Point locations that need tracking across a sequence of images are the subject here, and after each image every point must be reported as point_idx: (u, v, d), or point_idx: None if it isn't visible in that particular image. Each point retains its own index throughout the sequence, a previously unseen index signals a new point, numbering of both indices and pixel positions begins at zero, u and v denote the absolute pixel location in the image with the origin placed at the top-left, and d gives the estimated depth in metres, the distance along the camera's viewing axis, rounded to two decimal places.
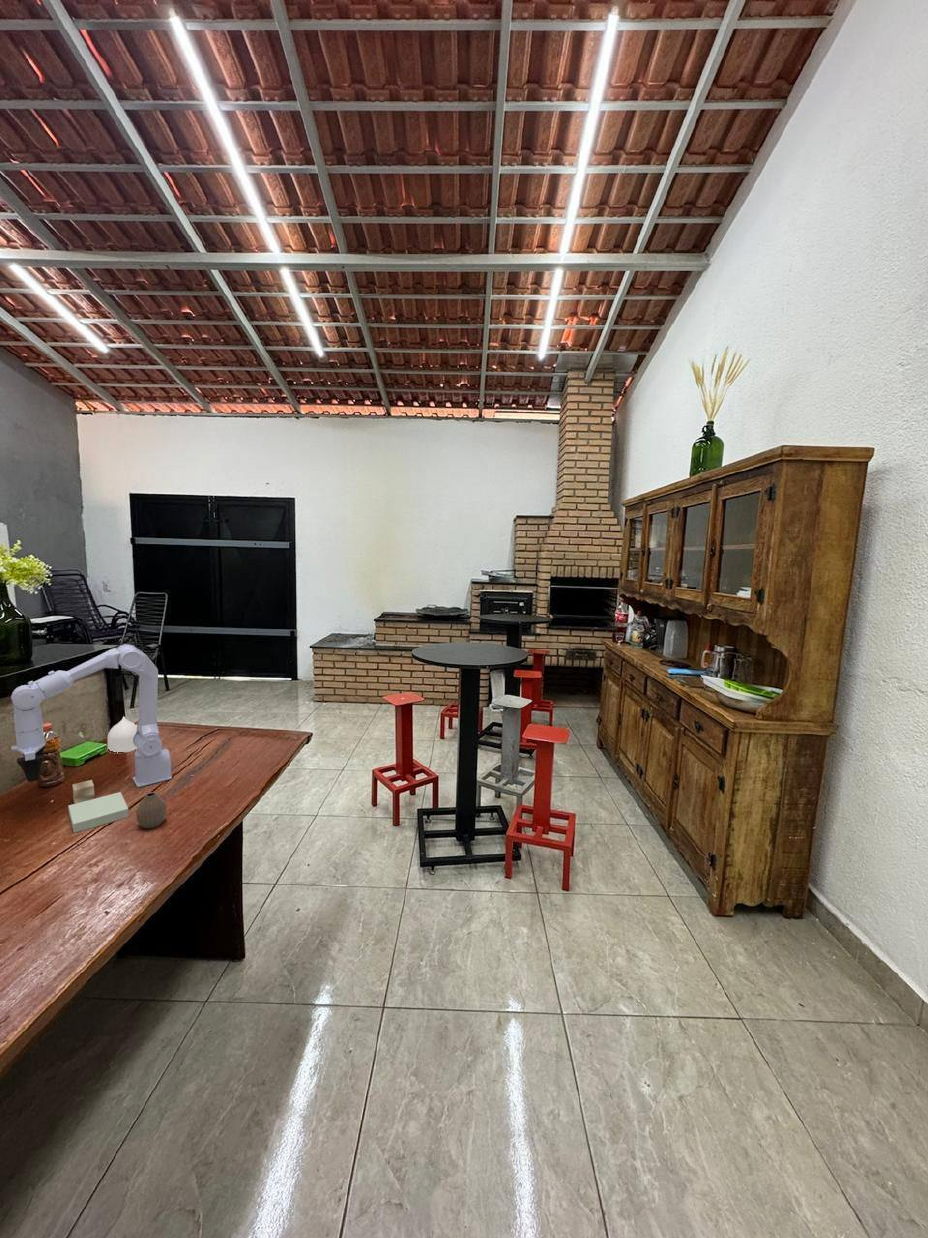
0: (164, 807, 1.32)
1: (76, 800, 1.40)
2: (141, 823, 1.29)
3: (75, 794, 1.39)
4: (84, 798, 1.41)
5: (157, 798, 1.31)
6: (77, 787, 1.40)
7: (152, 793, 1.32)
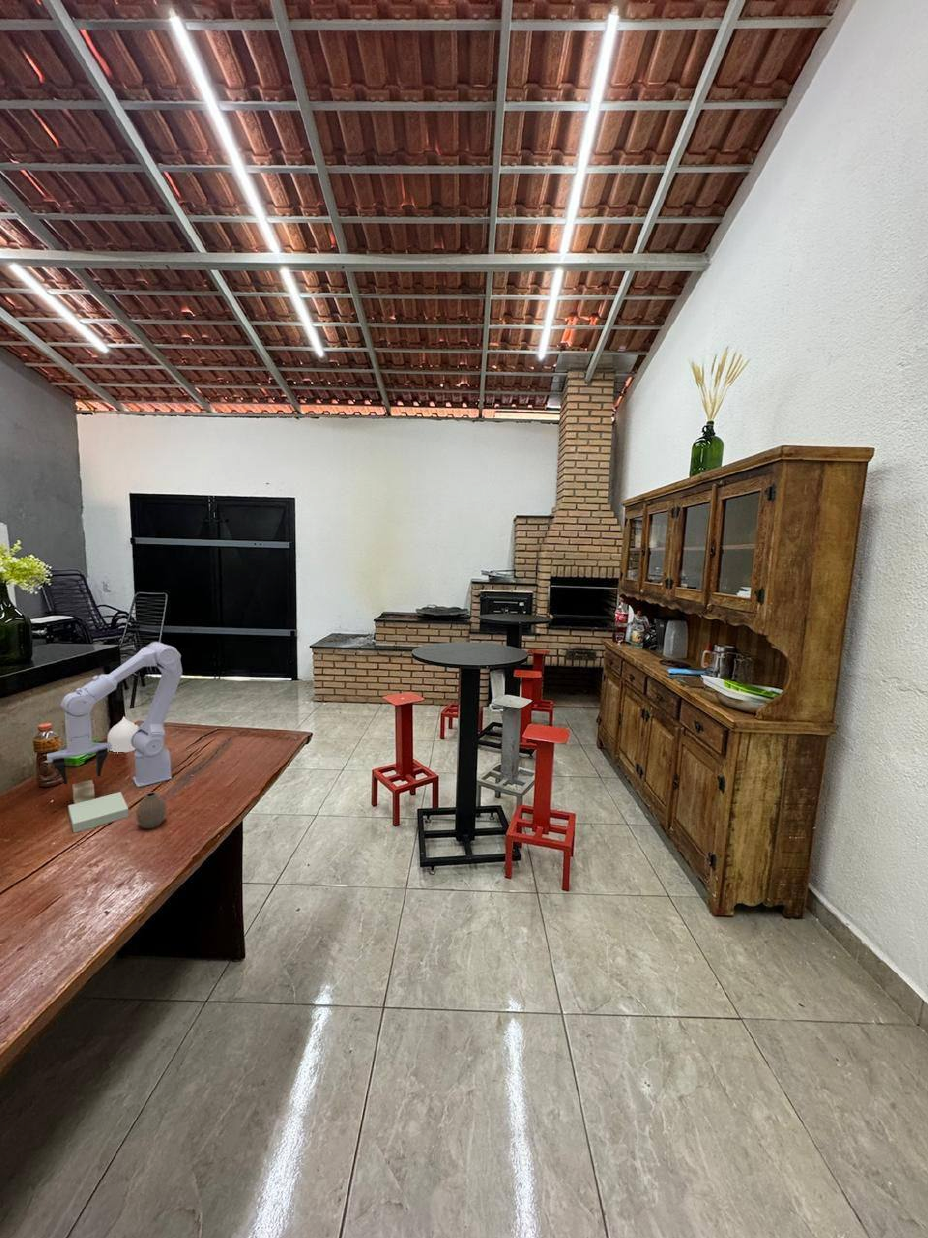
0: (164, 807, 1.32)
1: (76, 800, 1.40)
2: (141, 823, 1.29)
3: (75, 794, 1.39)
4: (84, 798, 1.41)
5: (157, 798, 1.31)
6: (77, 787, 1.40)
7: (152, 793, 1.32)
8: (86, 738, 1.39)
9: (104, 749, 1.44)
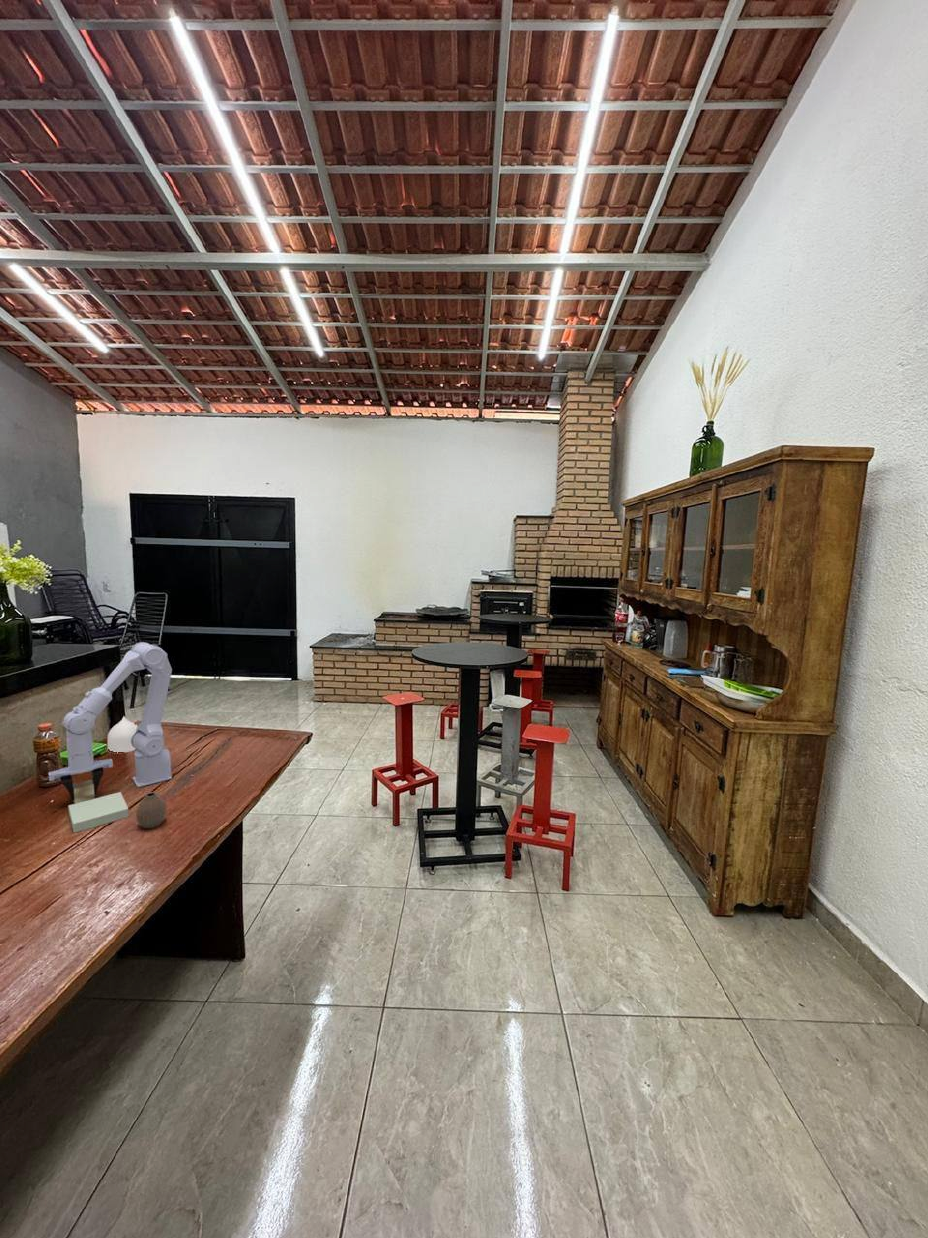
0: (164, 807, 1.32)
1: (76, 800, 1.40)
2: (141, 823, 1.29)
3: (75, 794, 1.39)
4: (84, 798, 1.41)
5: (157, 798, 1.31)
6: (77, 787, 1.40)
7: (152, 793, 1.32)
8: (87, 756, 1.40)
9: (105, 766, 1.45)
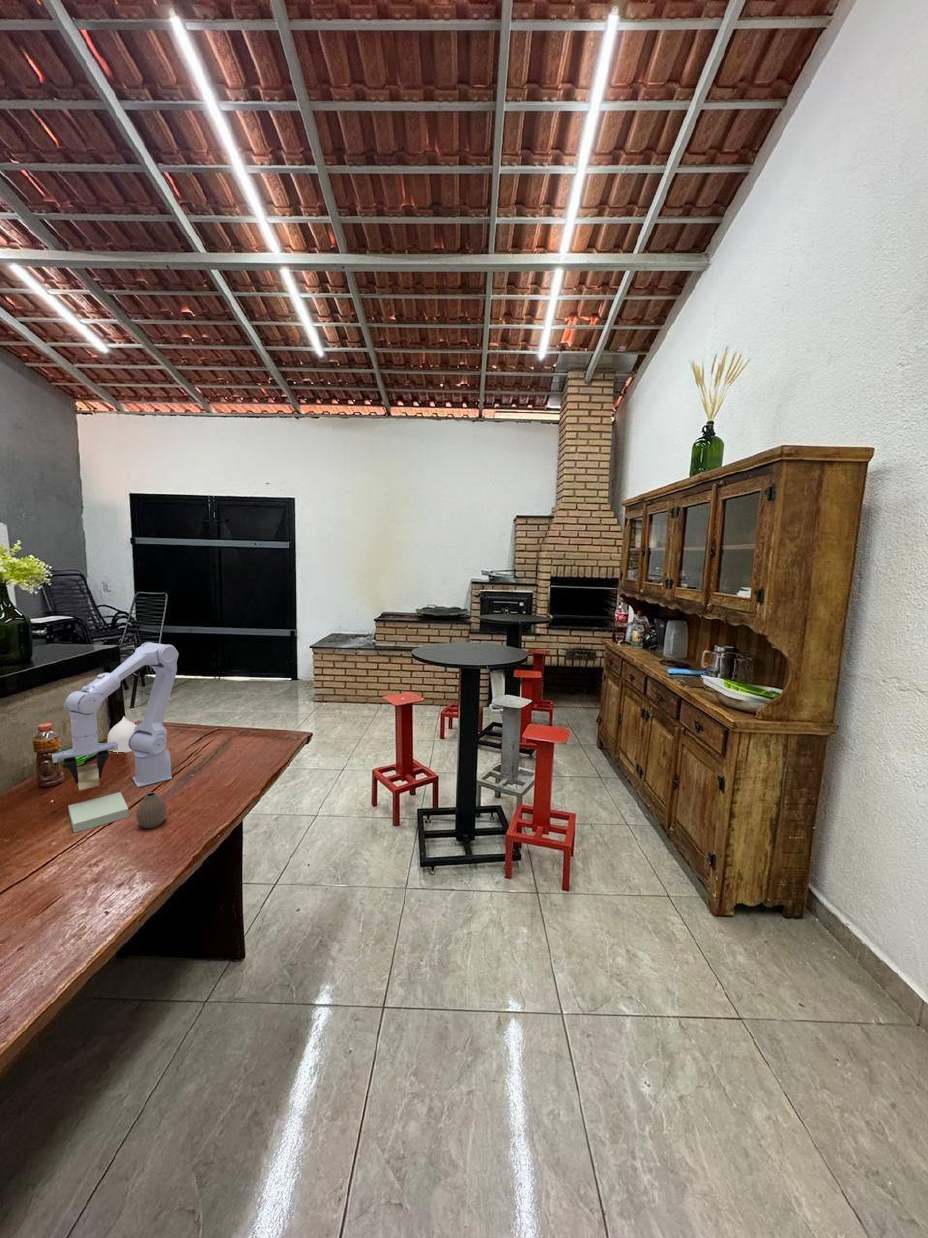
0: (164, 807, 1.32)
1: (80, 784, 1.35)
2: (141, 823, 1.29)
3: (79, 777, 1.35)
4: (88, 782, 1.37)
5: (157, 798, 1.31)
6: (81, 770, 1.36)
7: (152, 793, 1.32)
8: (92, 738, 1.35)
9: (110, 749, 1.40)
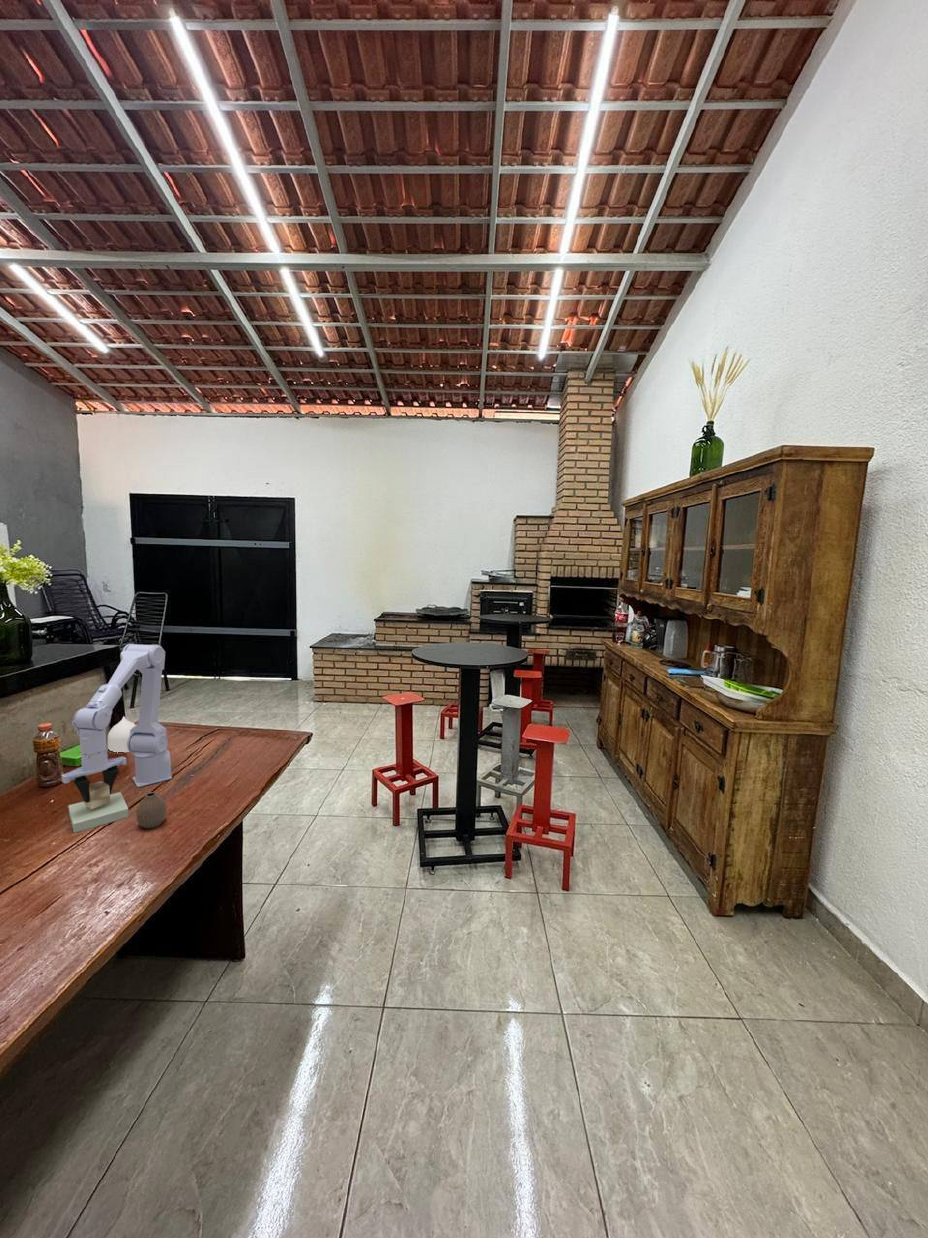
0: (164, 807, 1.32)
1: (92, 802, 1.32)
2: (141, 823, 1.29)
3: (91, 796, 1.32)
4: (100, 799, 1.34)
5: (157, 798, 1.31)
6: (91, 789, 1.33)
7: (152, 793, 1.32)
8: (104, 754, 1.33)
9: (119, 764, 1.38)
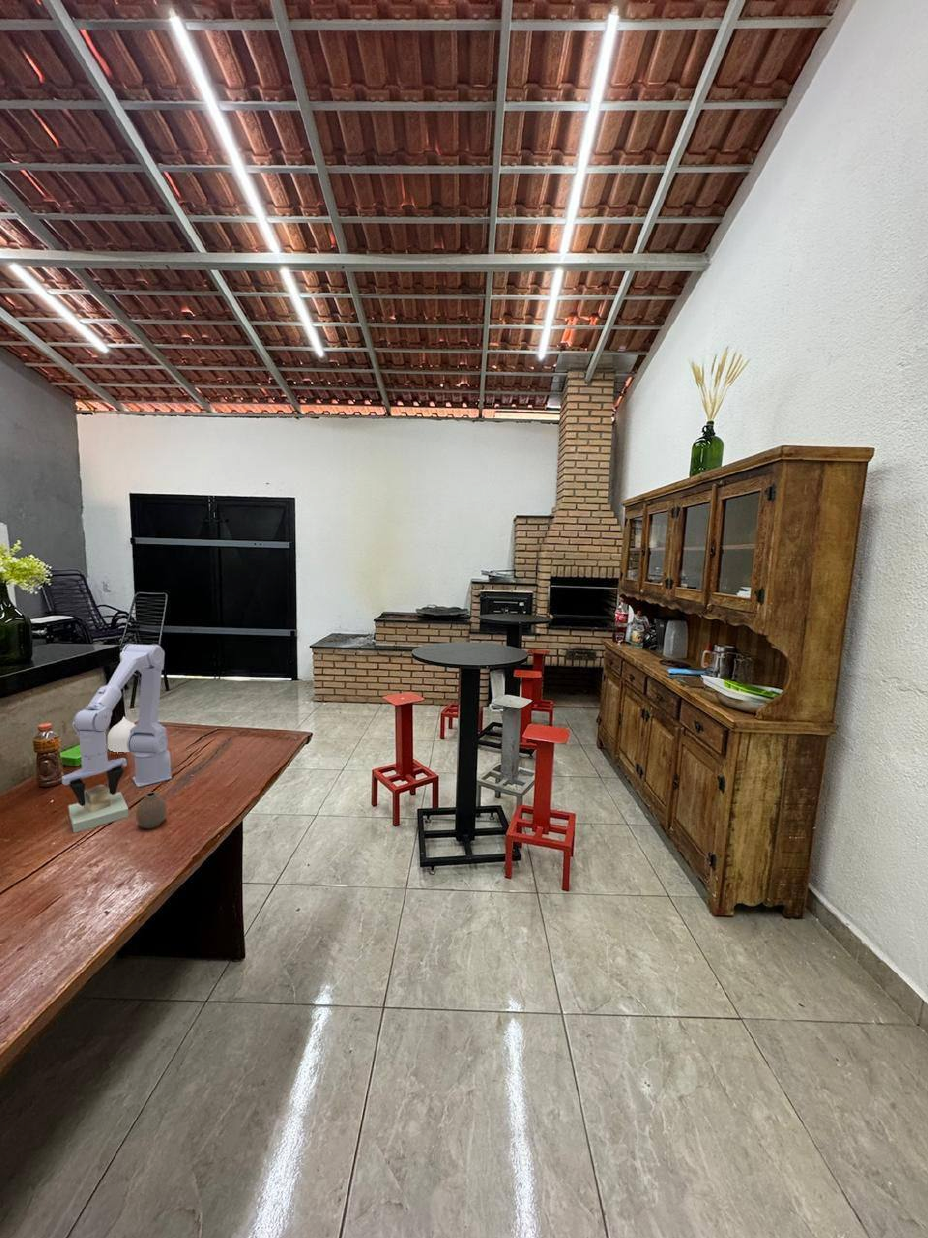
0: (164, 807, 1.32)
1: (92, 806, 1.32)
2: (141, 823, 1.29)
3: (91, 799, 1.32)
4: (100, 803, 1.34)
5: (157, 798, 1.31)
6: (91, 792, 1.33)
7: (152, 793, 1.32)
8: (104, 755, 1.33)
9: (119, 765, 1.38)
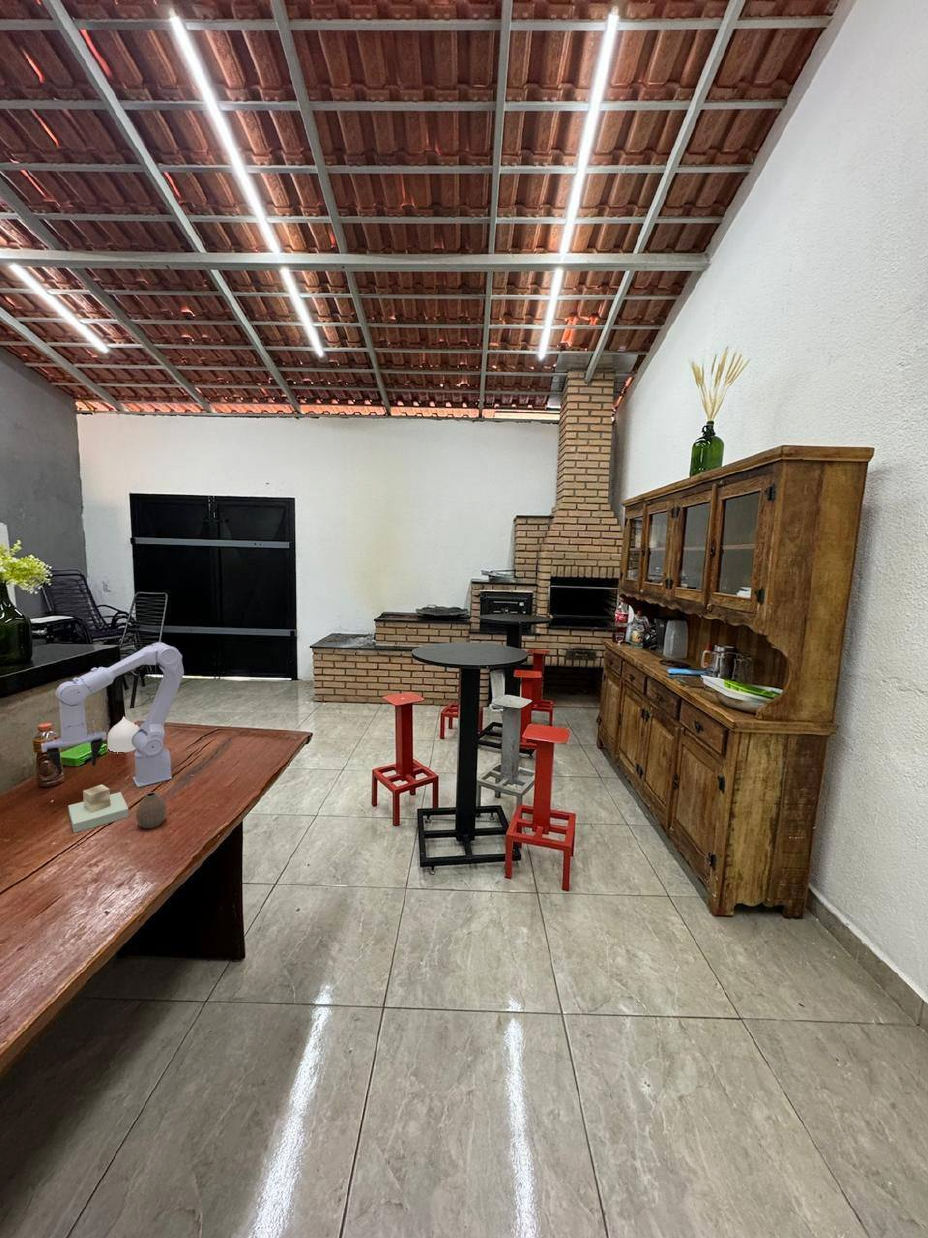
0: (164, 807, 1.32)
1: (92, 806, 1.32)
2: (141, 823, 1.29)
3: (91, 799, 1.32)
4: (100, 803, 1.34)
5: (157, 798, 1.31)
6: (91, 792, 1.33)
7: (152, 793, 1.32)
8: (81, 727, 1.39)
9: (99, 739, 1.44)
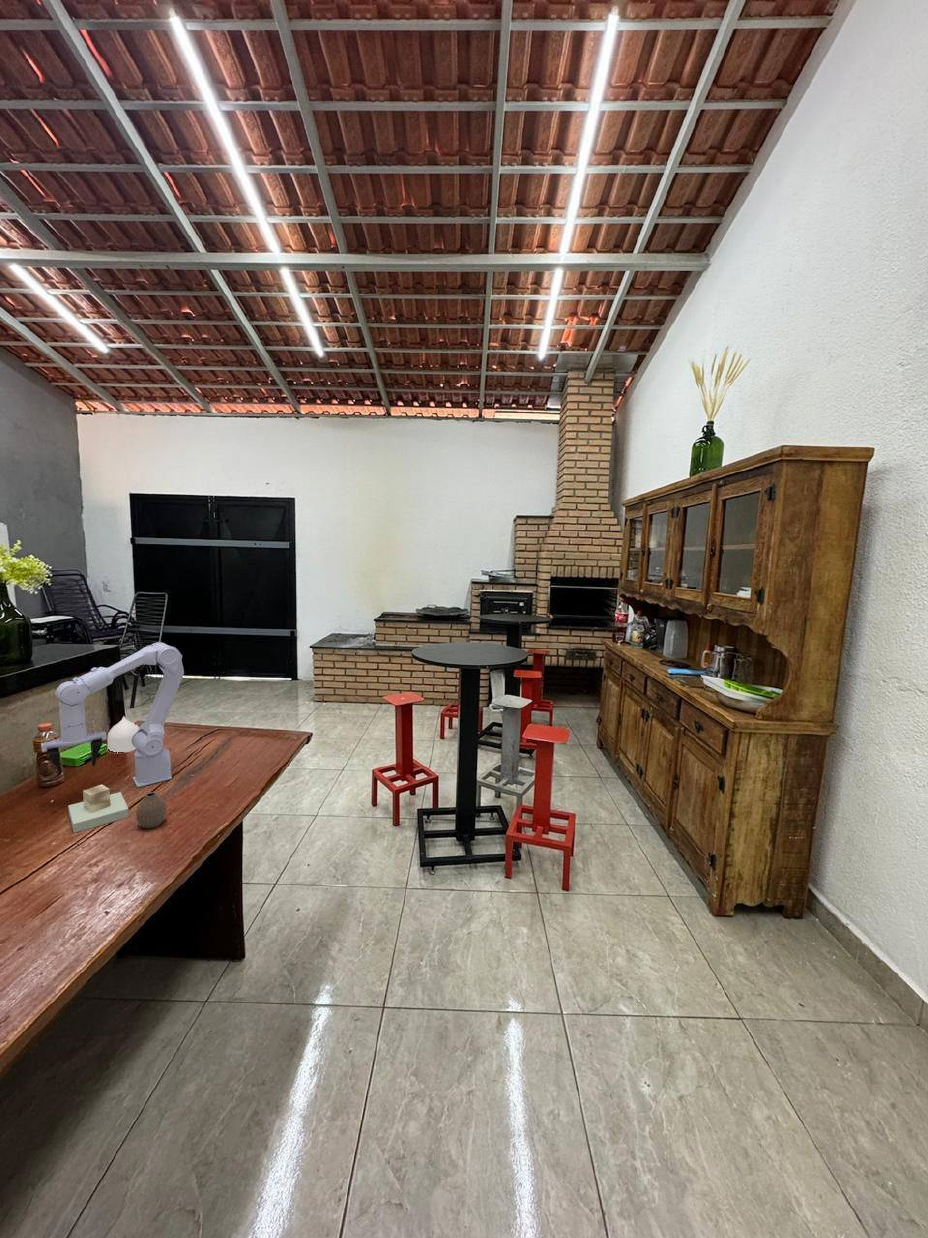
0: (164, 807, 1.32)
1: (92, 806, 1.32)
2: (141, 823, 1.29)
3: (91, 799, 1.32)
4: (100, 803, 1.34)
5: (157, 798, 1.31)
6: (91, 792, 1.33)
7: (152, 793, 1.32)
8: (80, 727, 1.39)
9: (99, 739, 1.44)
